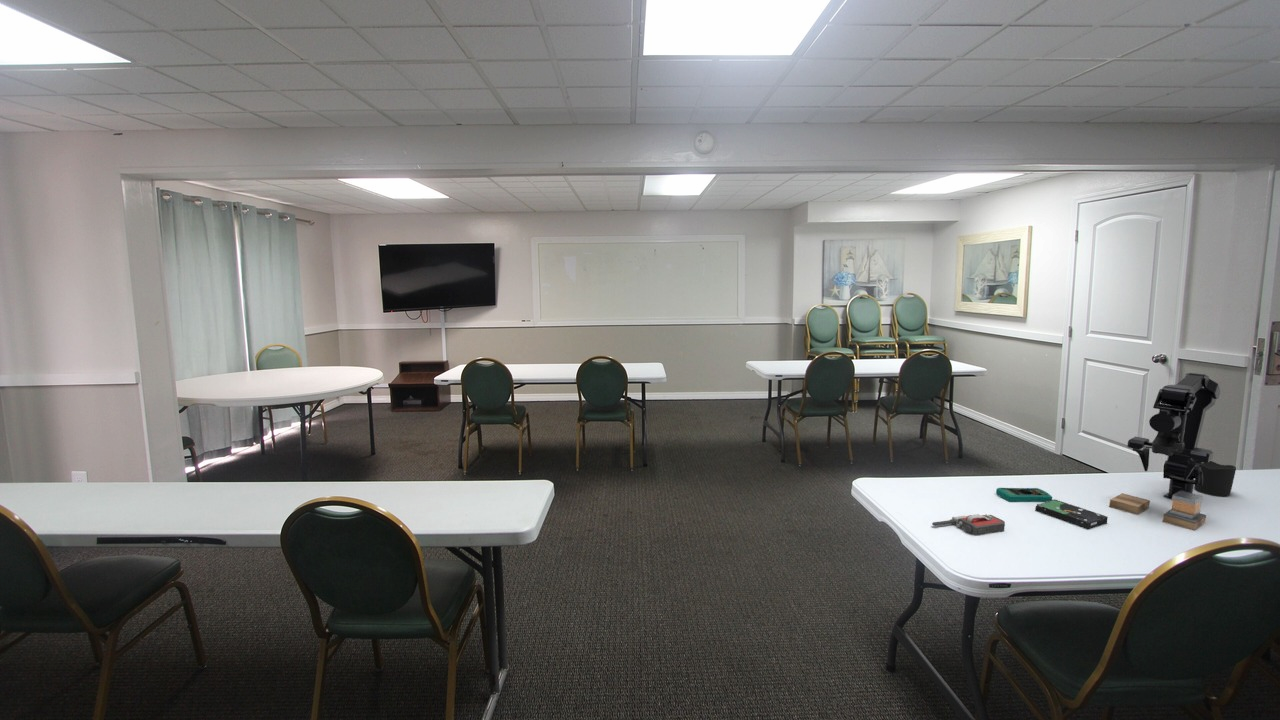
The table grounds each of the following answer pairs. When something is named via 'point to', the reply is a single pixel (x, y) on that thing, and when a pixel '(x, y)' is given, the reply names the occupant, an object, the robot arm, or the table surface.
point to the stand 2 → (1184, 521)
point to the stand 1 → (1129, 503)
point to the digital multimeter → (1023, 494)
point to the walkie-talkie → (976, 524)
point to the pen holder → (1216, 479)
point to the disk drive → (1071, 514)
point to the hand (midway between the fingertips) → (1165, 475)
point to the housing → (1186, 505)
